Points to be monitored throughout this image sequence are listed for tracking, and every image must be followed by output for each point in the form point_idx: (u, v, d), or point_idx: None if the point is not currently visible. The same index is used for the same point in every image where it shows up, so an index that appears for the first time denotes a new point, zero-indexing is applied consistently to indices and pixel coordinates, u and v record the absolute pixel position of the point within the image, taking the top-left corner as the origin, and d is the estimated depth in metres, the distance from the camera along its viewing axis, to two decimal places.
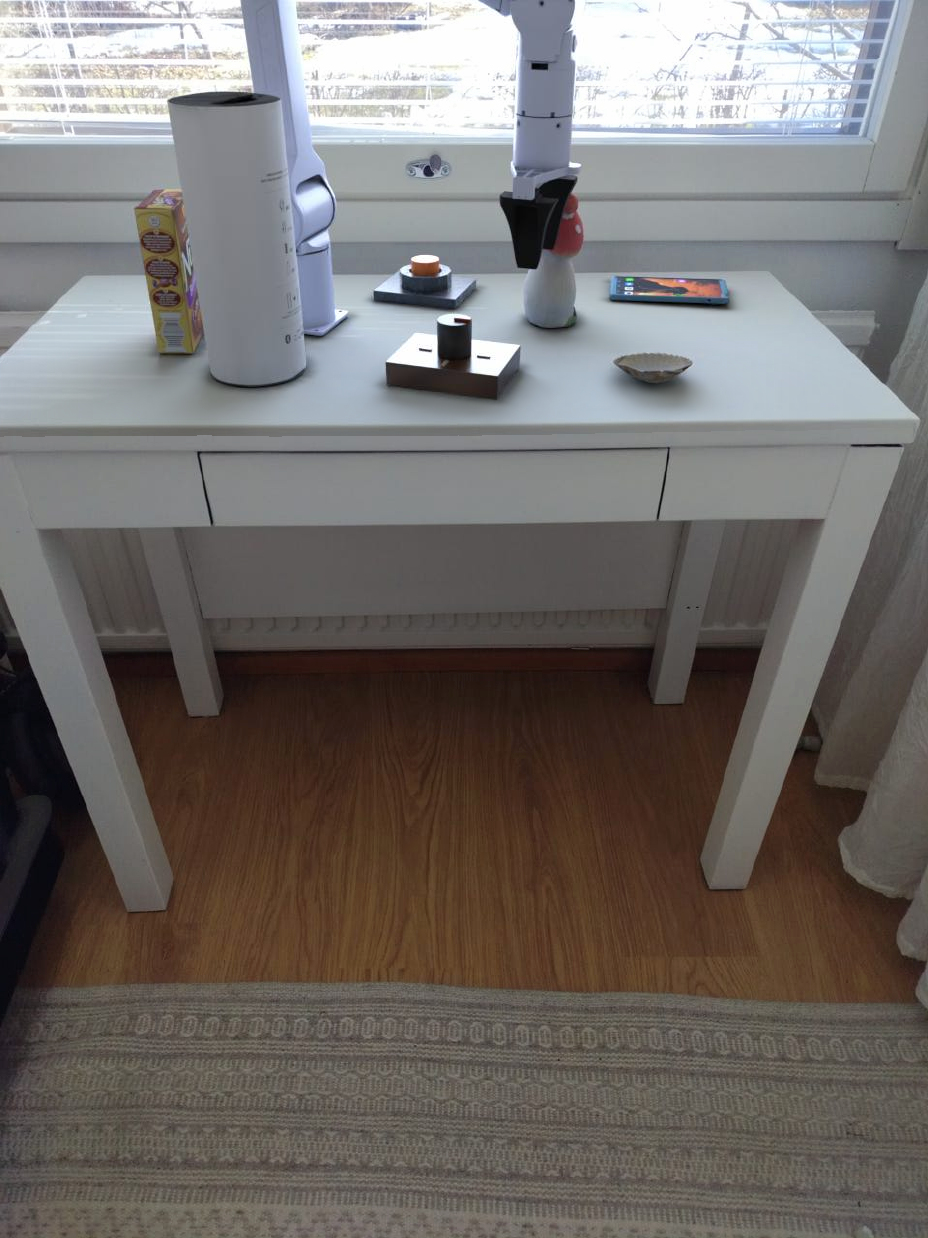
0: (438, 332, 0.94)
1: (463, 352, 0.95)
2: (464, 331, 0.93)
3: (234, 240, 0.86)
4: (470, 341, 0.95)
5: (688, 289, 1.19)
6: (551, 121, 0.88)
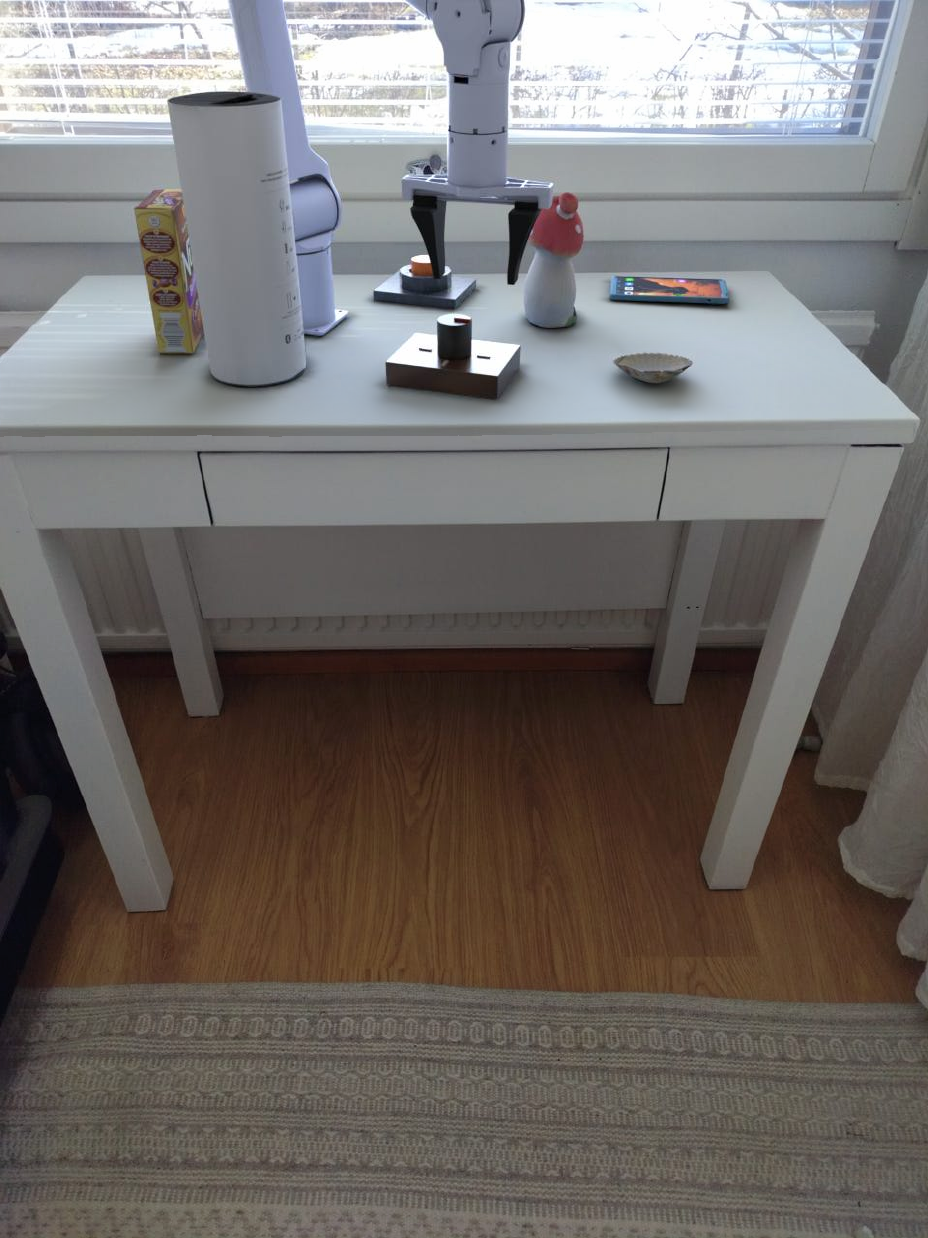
0: (438, 332, 0.94)
1: (463, 352, 0.95)
2: (464, 331, 0.93)
3: (234, 240, 0.86)
4: (470, 341, 0.95)
5: (688, 289, 1.19)
6: (447, 133, 0.85)
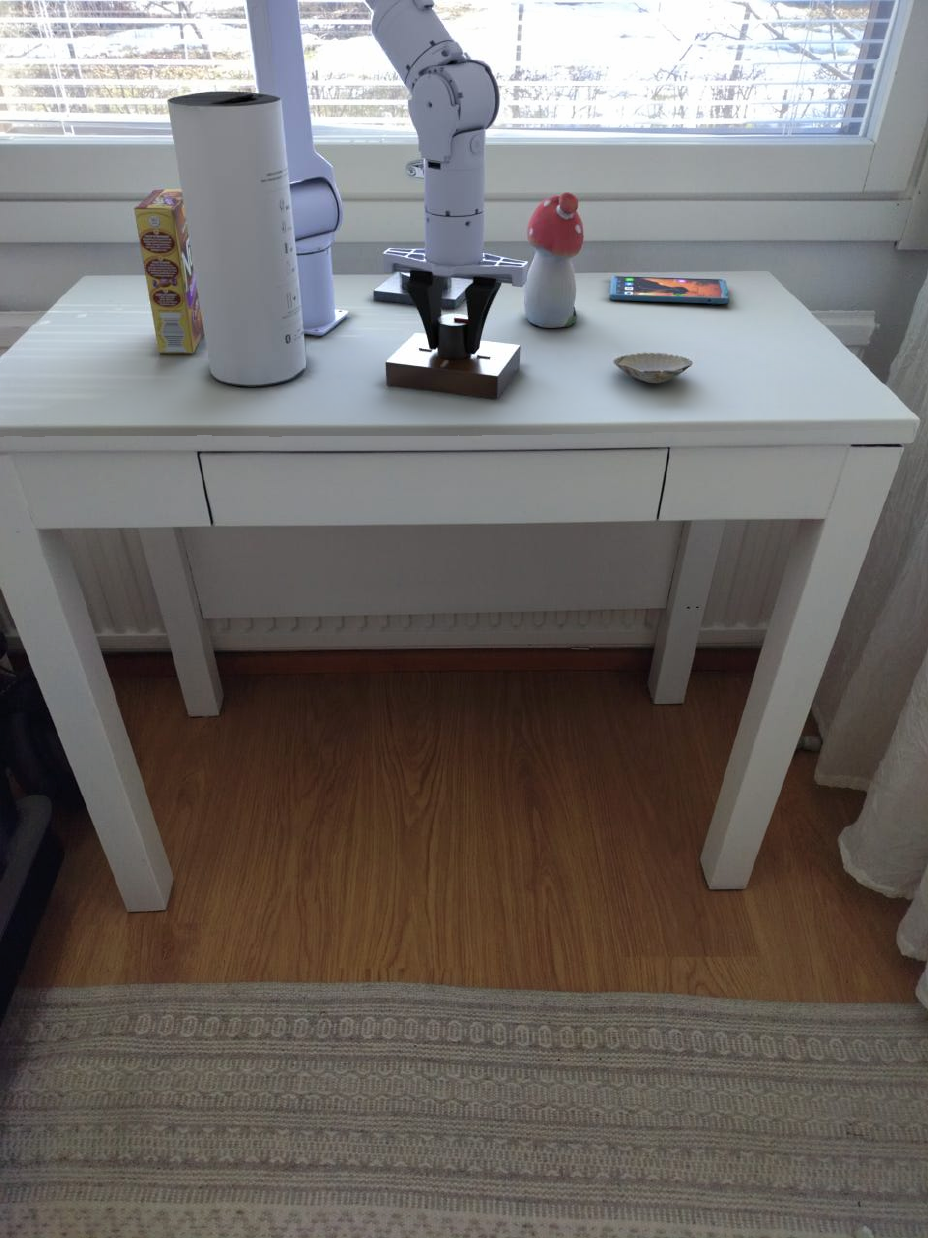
0: (438, 332, 0.94)
1: (463, 352, 0.95)
2: (464, 331, 0.93)
3: (234, 240, 0.86)
4: None
5: (688, 289, 1.19)
6: (424, 213, 0.87)
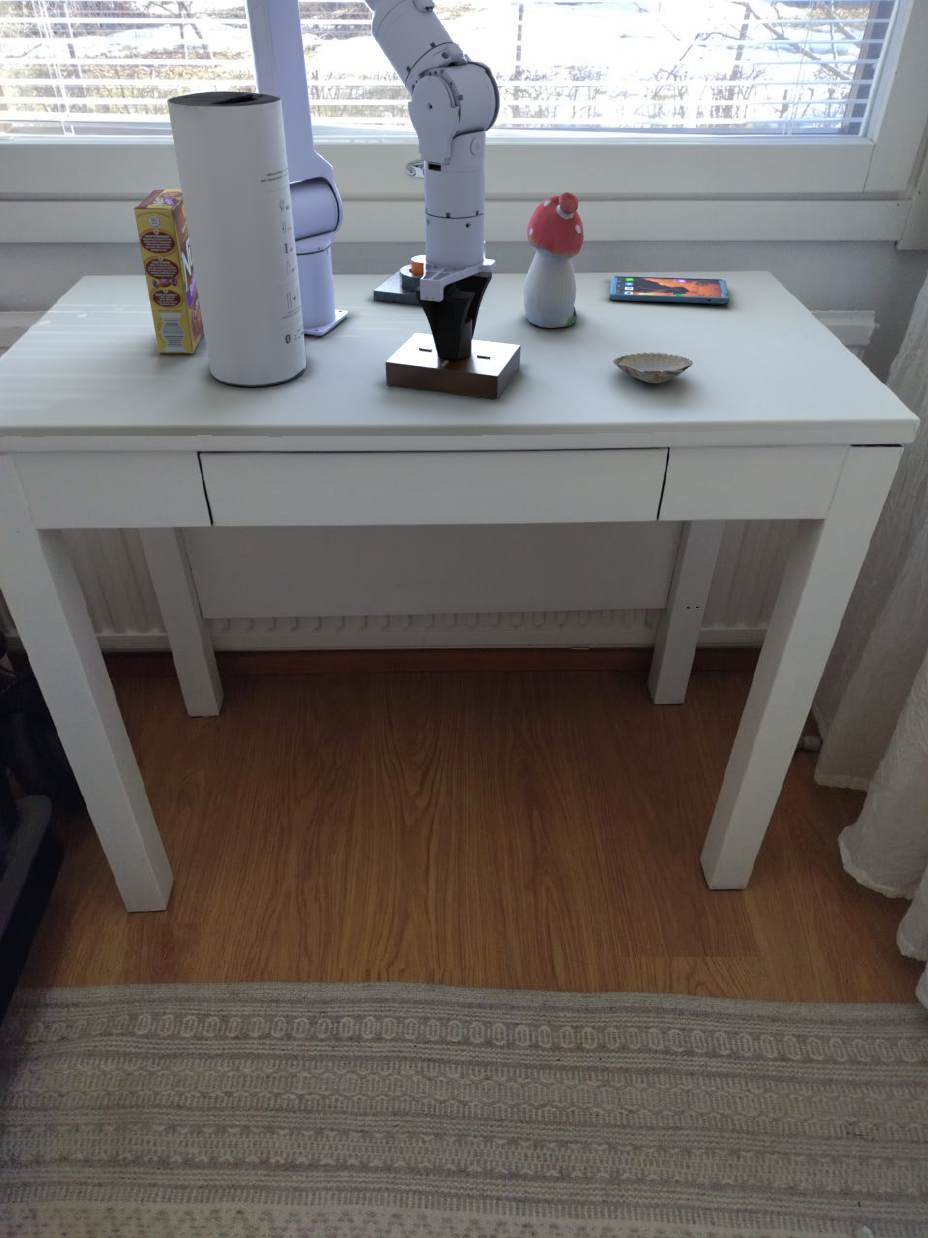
0: None
1: None
2: None
3: (234, 240, 0.86)
4: None
5: (688, 289, 1.19)
6: (460, 221, 0.86)
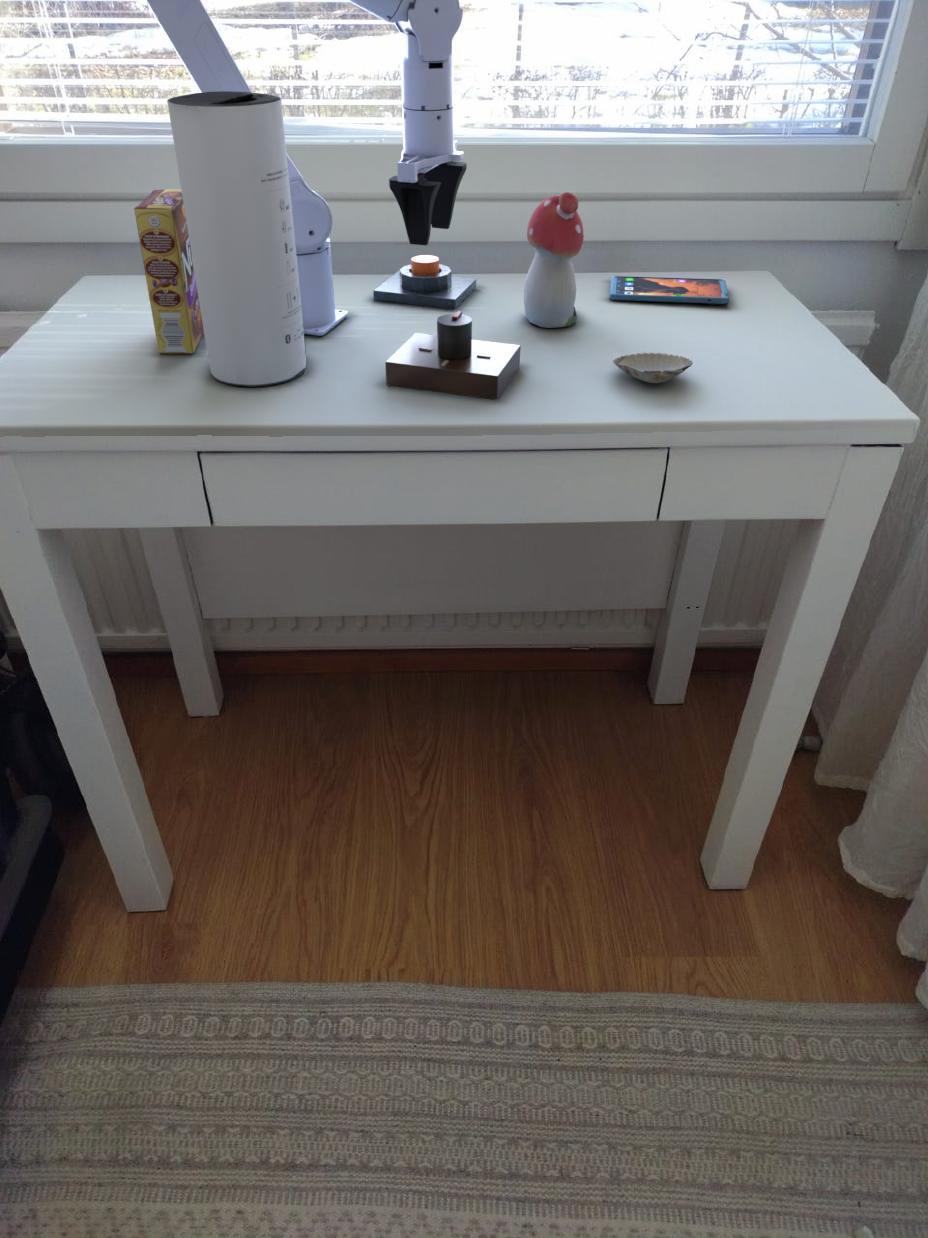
0: (461, 335, 0.93)
1: None
2: None
3: (234, 240, 0.86)
4: None
5: (688, 289, 1.19)
6: (431, 113, 1.00)
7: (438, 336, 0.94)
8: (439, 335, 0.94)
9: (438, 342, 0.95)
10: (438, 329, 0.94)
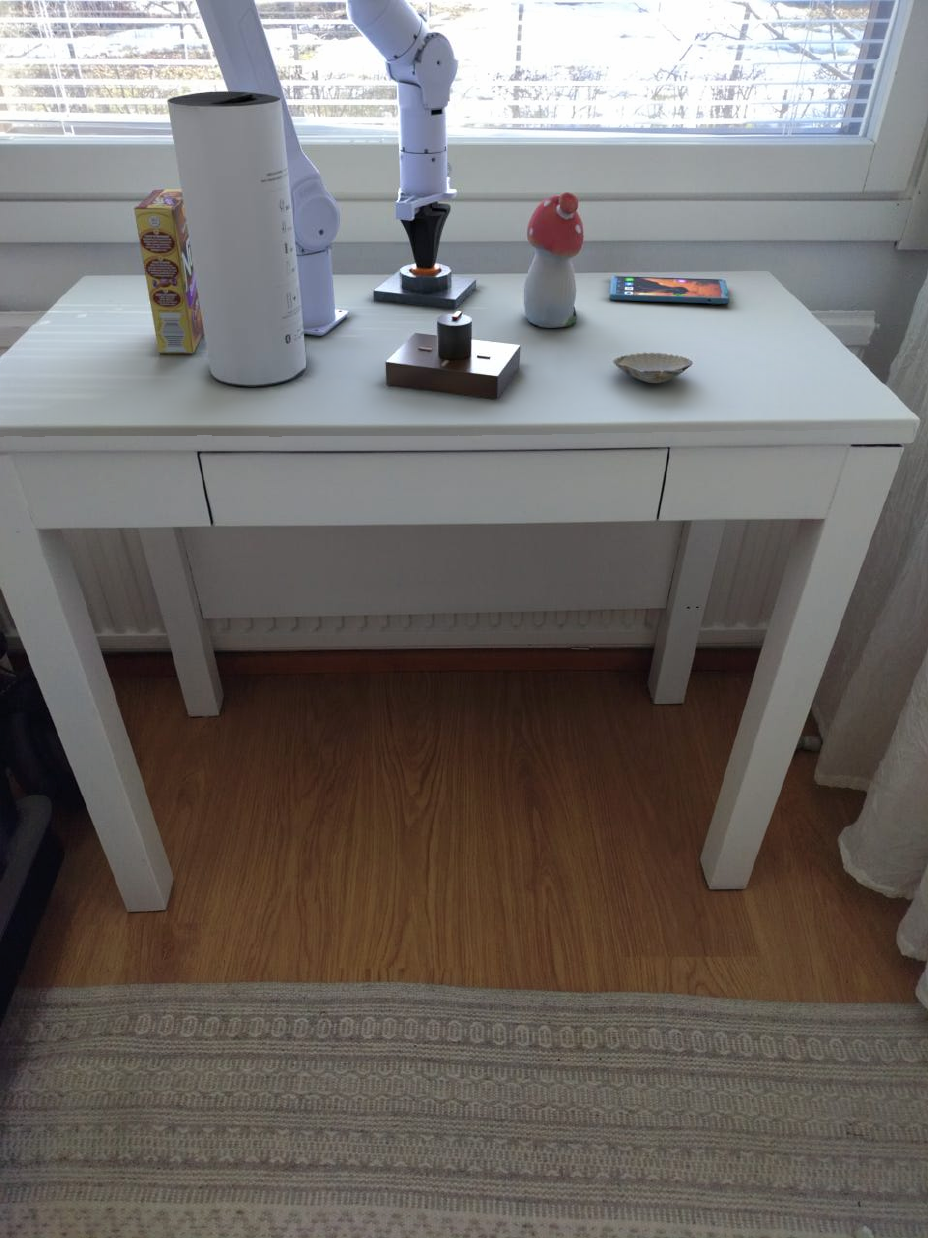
0: (461, 335, 0.93)
1: None
2: None
3: (234, 240, 0.86)
4: None
5: (688, 289, 1.19)
6: (427, 156, 1.07)
7: (438, 336, 0.94)
8: (439, 335, 0.94)
9: (438, 342, 0.95)
10: (438, 329, 0.94)
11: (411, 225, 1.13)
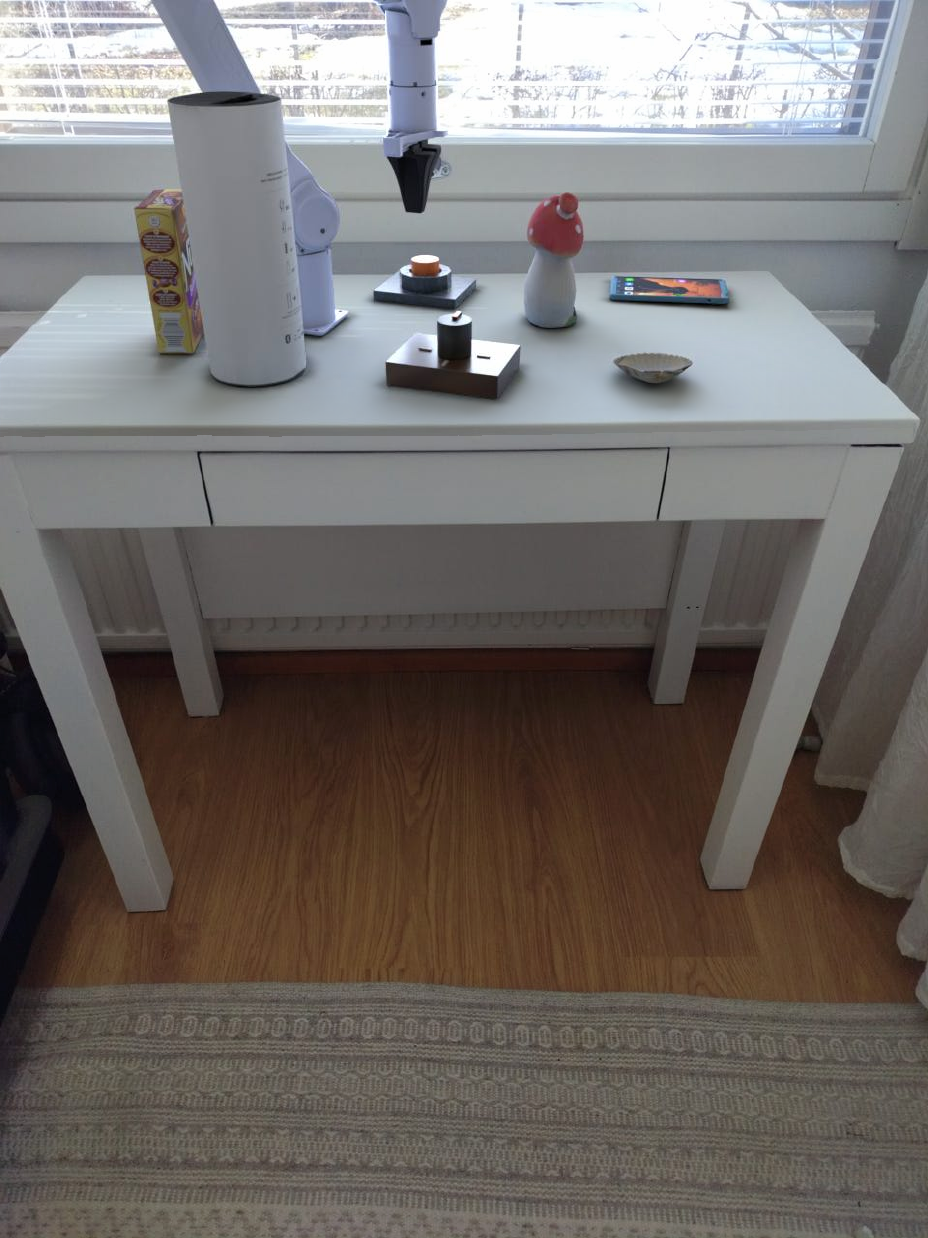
0: (461, 335, 0.93)
1: None
2: None
3: (234, 240, 0.86)
4: None
5: (688, 289, 1.19)
6: (416, 90, 1.02)
7: (438, 336, 0.94)
8: (439, 335, 0.94)
9: (438, 342, 0.95)
10: (438, 329, 0.94)
11: (400, 166, 1.08)
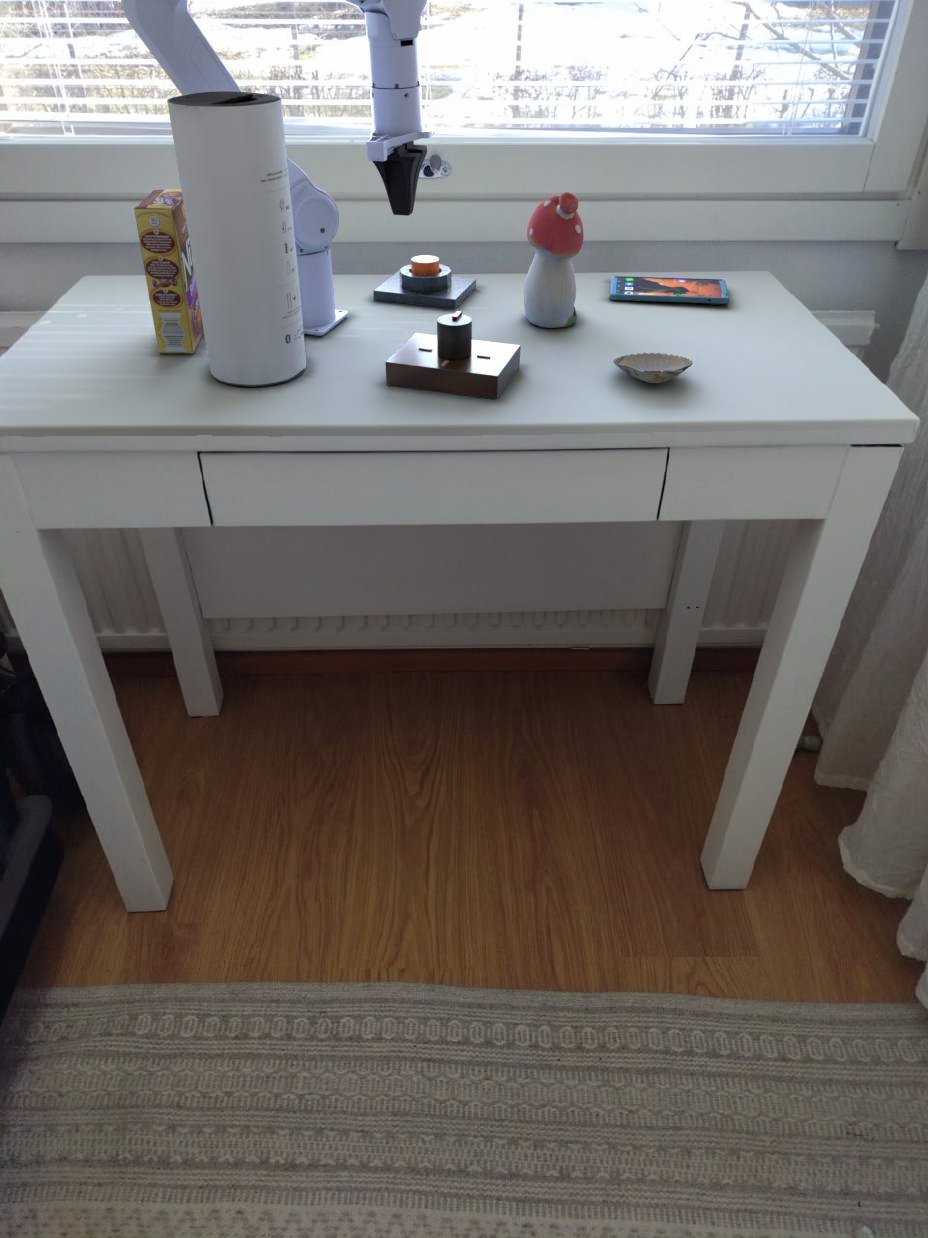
0: (461, 335, 0.93)
1: None
2: None
3: (234, 240, 0.86)
4: None
5: (688, 289, 1.19)
6: (399, 91, 1.01)
7: (438, 336, 0.94)
8: (439, 335, 0.94)
9: (438, 342, 0.95)
10: (438, 329, 0.94)
11: (386, 168, 1.07)
